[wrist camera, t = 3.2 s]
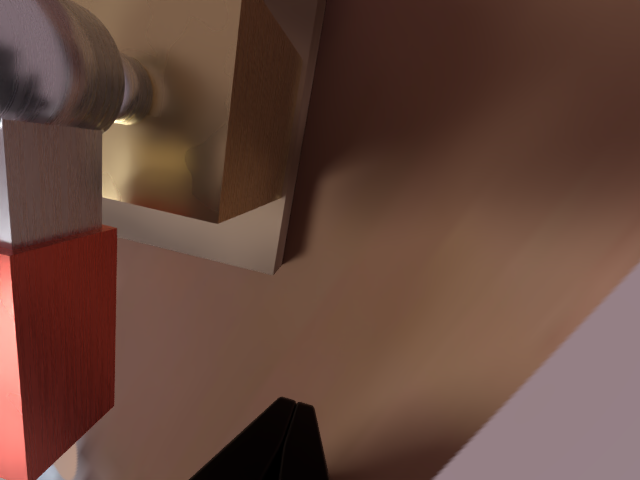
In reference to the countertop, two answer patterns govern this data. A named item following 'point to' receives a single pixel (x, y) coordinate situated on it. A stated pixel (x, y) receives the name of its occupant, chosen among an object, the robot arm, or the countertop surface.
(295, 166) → the beige flat board
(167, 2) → the pipe manifold
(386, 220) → the countertop surface
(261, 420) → the robot arm
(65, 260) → the valve lever
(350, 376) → the countertop surface
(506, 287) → the countertop surface
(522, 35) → the countertop surface
